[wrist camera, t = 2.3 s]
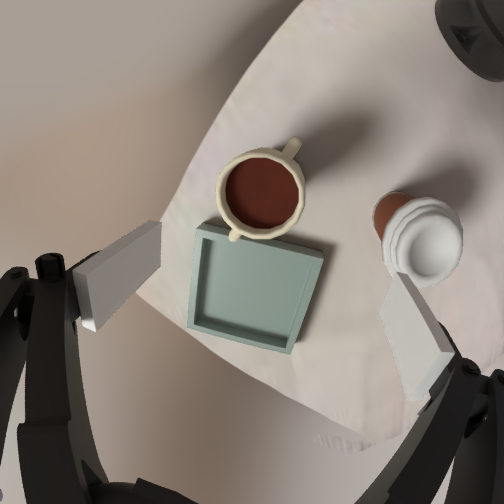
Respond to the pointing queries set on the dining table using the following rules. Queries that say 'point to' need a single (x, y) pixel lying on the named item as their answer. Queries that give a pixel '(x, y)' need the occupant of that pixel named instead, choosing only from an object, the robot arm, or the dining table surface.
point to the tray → (250, 288)
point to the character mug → (262, 192)
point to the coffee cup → (418, 237)
